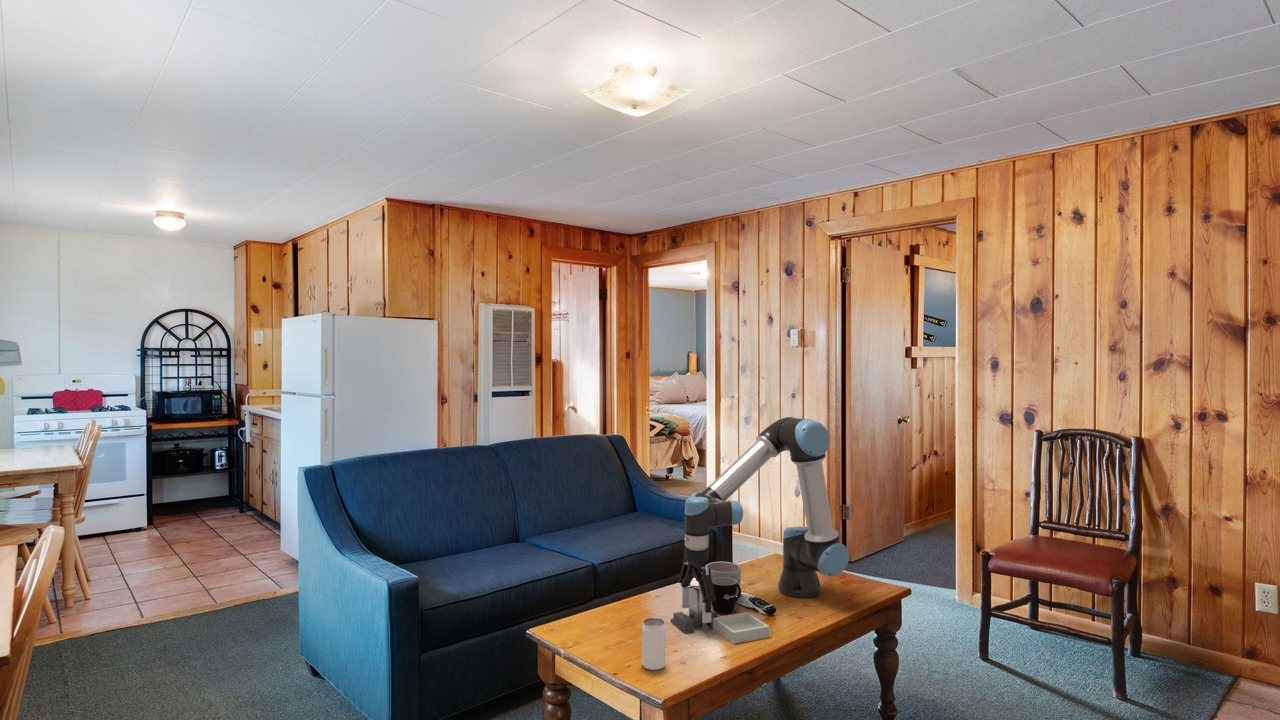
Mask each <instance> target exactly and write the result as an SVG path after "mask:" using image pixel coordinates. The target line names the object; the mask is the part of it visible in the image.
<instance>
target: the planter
mask: <svg viewBox="0 0 1280 720" xmlns="http://www.w3.org/2000/svg"><path fill="white" fill-rule="evenodd" d="M705 568H710V569H711V578H714V577H730V578H733V579H735V580H736V581H737V584H738V585H739V586H740V587H741V577H742V574H741V573H742V567H741V565H739V564H737V563H734V562H729V561H713V562H709V563H707V564H705ZM737 595H738V587H737Z"/></svg>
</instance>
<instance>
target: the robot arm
mask: <svg viewBox="0 0 1280 720" xmlns="http://www.w3.org/2000/svg"><path fill="white" fill-rule="evenodd" d="M830 445H831V438H830V433H829V431H828V429H827V428H826V426H825V424H823V423H822V422H820V421H816V420H813V419H809V418H807V419H806V418H799V417H793V416H791V417H790V416H788V417H782V418H780V419H777V420H776V421H774V422H773V423H771V424H770V425H768V426H767V427H766V428H765V429H763V430H762V431H761V432H760V433H759V434H758V435H757V436H756V438H755V441H754V443H753V444H752V445H750V446H749V448H748V449H747V450H746V451H744V452H743V453H742V454H741V455H740V456H739V457H738V458H737V459H735V461H733V463H732V464H730V465H729V467H728V468H726V469H725V470H724V471H723V472H722V473H721V474H720V475H719V476H718V477H717V478H716V479H715V480H713V482H711V484H709V485H708V486H707V487H706V488H705V489H704V490H703V491H702V492H701V491H698V492H694V493H692V494H691V496H690V497H688V498H687V499H686V500H685V502H684V503H685V504H684V538H683V540H684V546H685V548H684V557H683V558H682V565H681V570H680V572H679V573H680V574H679V577H678V580H677V581H678V583H679V584H680V586H681V609H689V587H690V586H692V585H691V583H692V581H693V578H695V581H696V582H697V583H698V586H700V589H701V593H702V596H703V599H704V600H703V601H702V623H709V622H711V611H712V602H713V601H716V597H715V593H714V588H713V583H712V578H711V569H710V568H706V562H708V561H709V555H710V554H709V551H710V550H709V547H710V546H709V545H710V543H709V540H710V538H709V537H710V536H709V535H710V532H709V531H710V528H717V527H725V526H734V525H738V524H740V523H741V522H742V521H743V520H744V519H743V518H744V510H743V506H742V504H741V503H740V502H739V501H738V500H728V499H730V497H731V496H733V494H735V493H736V491H737V490H739V489H740V488H741V487H742V486H743V485H744V484H745V483H746V482H747V481H748V480H749V479H750V478H751V477H752V476H753V475H754V474H756V472H757V471H759V470H760V469H761V468H762V467H763V466H764V465H765V464H766V463H767V462H768V461H769V460H770V459H771V458H777V456H779V454H781V453H783V452H785V451H786V452H787V451H789V456H790V461H791V463H793V464H794V465H796V470H797V471H796V472H797V474H798V475H797V477H798V482H799V489H800V494H801V501H802V505H803V511H804V517H805V523H806V526H790V527H786V528H785V529H784V530H783V537H782V550H783V551H782V554H783V555H782V561H783V562H782V571H781V574H780V577H779V581H778V583H777V588H778V589H777V590H778V592H779V593H781V594H782V595H784V596H788V597H793V598H799V599H810V598H815V597H818V596H820V595H821V594H822V586H821V583H820V580H819V577H818V573H819V574H821V575H824V576H828V577H836V576H838V575H840V574H841V573H842V572H844V571H845V569H846V567H847V566H848V563H849V559H850V553H849V549H848V547H847V546H846V545H845V544H843V543H841V539H840V534H839V532H838V530H837V529H835V528H834V527H833V526H834V525H833V520H832V515H831V513H832V512H831V508H830V501H829V495H828V490H827V485H826V483H827V482H826V478H825V477H826V476H825V473H824V466H823V461H824V459H826V453H827V452H828V450H829V446H830Z"/></svg>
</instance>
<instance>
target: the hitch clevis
mask: <svg viewBox="0 0 1280 720" xmlns="http://www.w3.org/2000/svg"><path fill="white" fill-rule="evenodd" d="M672 617H673V618H670V623H671V624H672V625H674V626H675V627H676V628H677V629H679V630H680V631H681V632H682V633H684V634H689V633H694V631H695V629H694V621H693V620H692V619H691V618H689V615H687V614H685V613H684V612H683V611H680V612H679V611H678V612H673V616H672ZM717 617H720V615H719V614H717V613H716V612H714V611H712V610H711V622H709V623H703V626H704V625H705V626H706V628H707V627H708V629H710V630H714V629H713V618H717Z"/></svg>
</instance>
